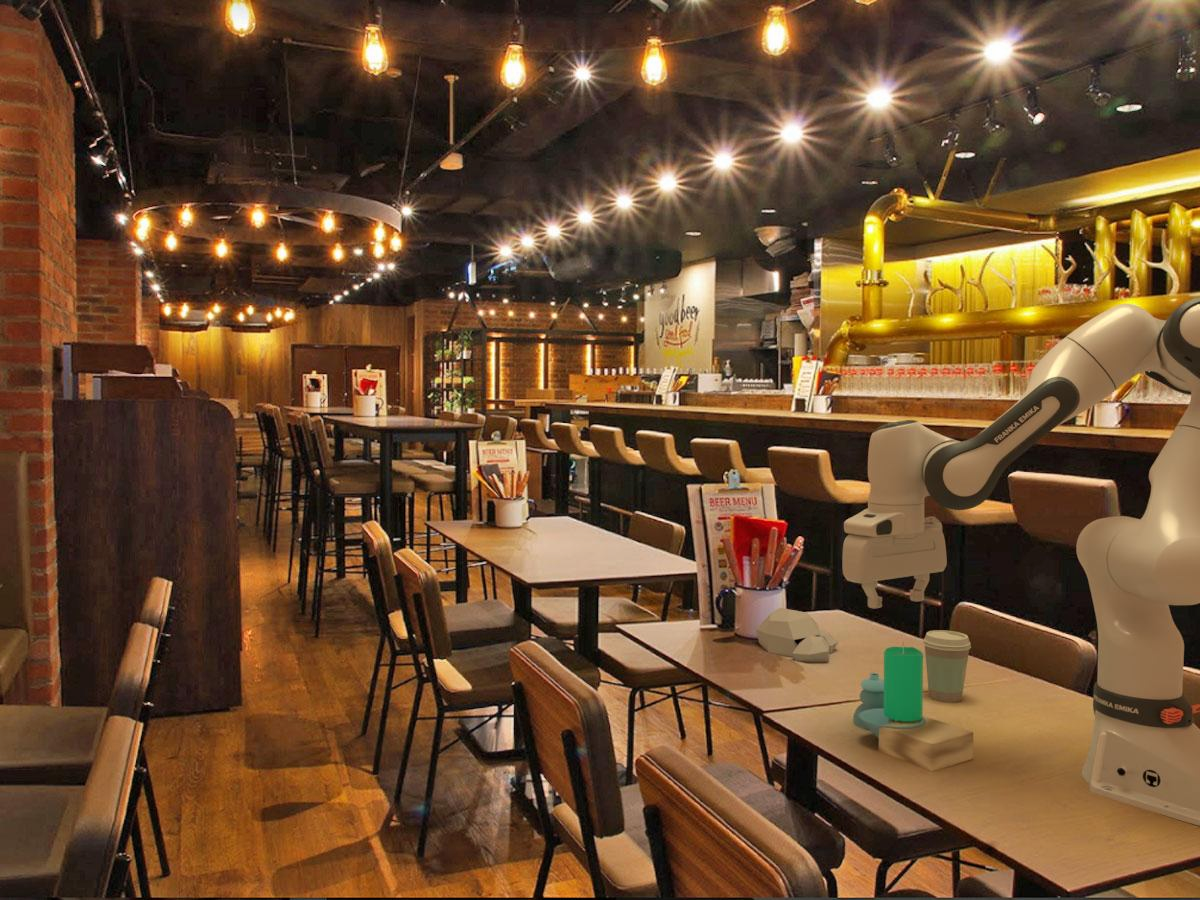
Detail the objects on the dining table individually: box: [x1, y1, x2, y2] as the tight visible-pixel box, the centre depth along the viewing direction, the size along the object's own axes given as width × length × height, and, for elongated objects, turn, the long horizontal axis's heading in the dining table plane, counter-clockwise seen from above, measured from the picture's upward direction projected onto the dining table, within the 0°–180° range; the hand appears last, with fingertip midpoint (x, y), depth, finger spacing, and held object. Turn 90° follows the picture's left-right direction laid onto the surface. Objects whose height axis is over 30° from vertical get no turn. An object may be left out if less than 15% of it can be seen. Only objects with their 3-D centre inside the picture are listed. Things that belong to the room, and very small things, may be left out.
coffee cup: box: [922, 629, 972, 703], centre depth 187 cm, size 8×8×12 cm
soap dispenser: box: [853, 672, 926, 740], centre depth 165 cm, size 18×10×9 cm, turn 1°
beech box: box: [878, 715, 974, 772], centre depth 156 cm, size 10×10×5 cm
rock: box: [755, 607, 839, 663], centre depth 218 cm, size 18×20×10 cm
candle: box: [883, 641, 924, 721], centre depth 161 cm, size 6×6×12 cm
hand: (896, 604), depth 163 cm, fingers open, 8 cm apart
